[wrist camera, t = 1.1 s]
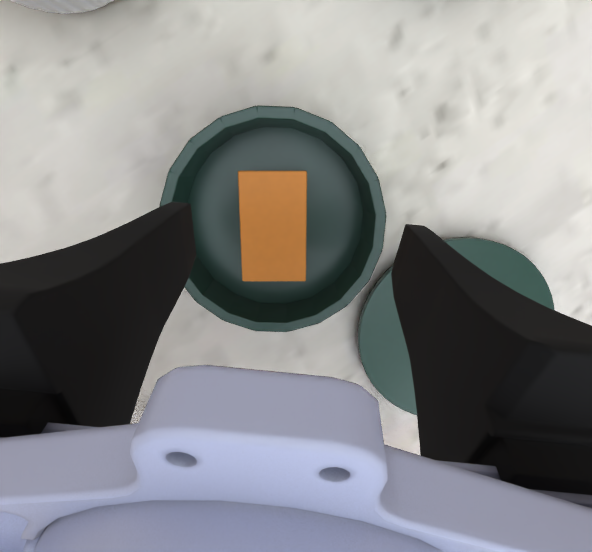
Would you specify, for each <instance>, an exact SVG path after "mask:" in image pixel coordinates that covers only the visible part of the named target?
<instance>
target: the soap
mask: <svg viewBox="0 0 592 552" xmlns="http://www.w3.org/2000/svg"><path fill="white" fill-rule="evenodd" d="M238 188H239V213H240V239H241V264H242V281H306V225H307V171H238Z"/></svg>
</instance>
